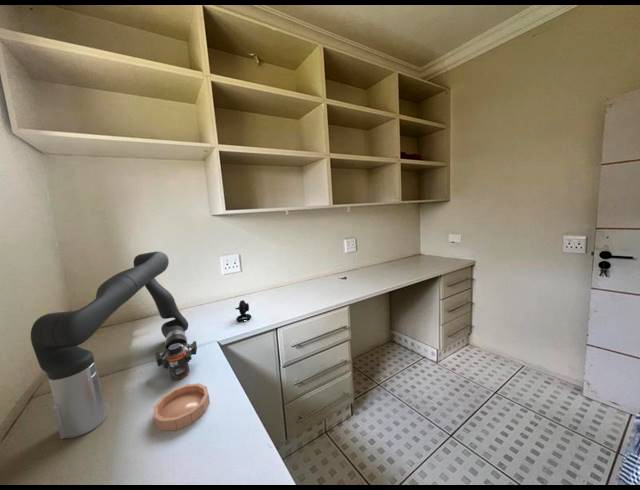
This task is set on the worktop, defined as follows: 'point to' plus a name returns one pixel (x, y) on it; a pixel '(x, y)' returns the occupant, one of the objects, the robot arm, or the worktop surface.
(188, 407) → the bowl
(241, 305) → the webcam
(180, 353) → the supplement bottle
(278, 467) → the worktop surface
